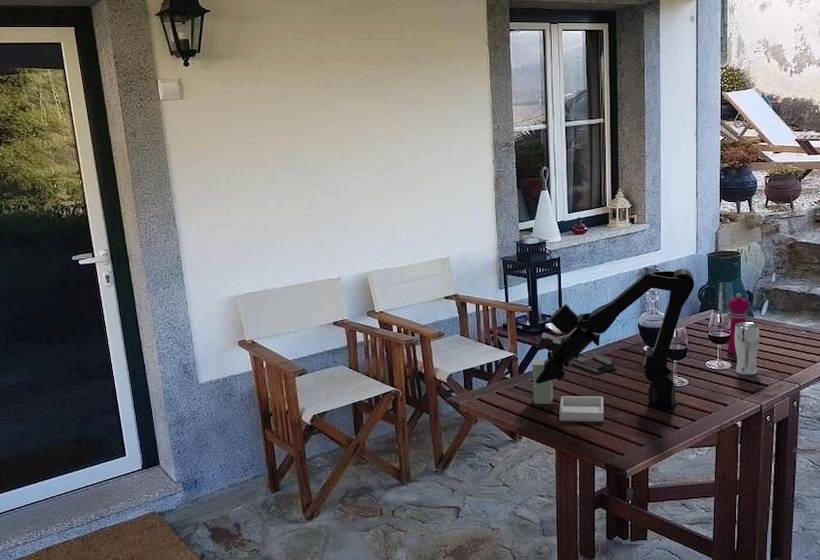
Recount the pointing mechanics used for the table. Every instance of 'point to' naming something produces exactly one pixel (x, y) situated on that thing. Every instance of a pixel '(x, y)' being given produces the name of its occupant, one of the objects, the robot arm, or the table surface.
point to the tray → (581, 408)
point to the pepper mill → (736, 317)
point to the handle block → (541, 384)
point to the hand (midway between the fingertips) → (537, 379)
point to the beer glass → (746, 347)
